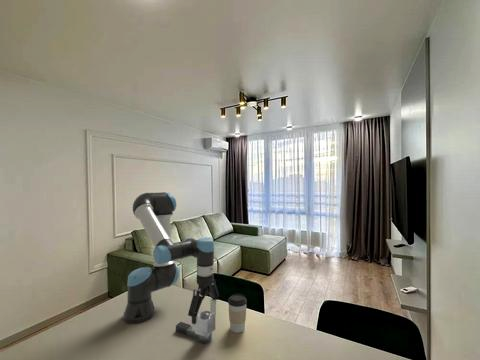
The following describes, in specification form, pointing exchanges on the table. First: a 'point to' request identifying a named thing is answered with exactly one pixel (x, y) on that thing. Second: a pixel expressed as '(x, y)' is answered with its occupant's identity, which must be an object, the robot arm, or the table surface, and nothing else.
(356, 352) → the table surface
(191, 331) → the grey l-shaped piece
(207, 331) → the socket
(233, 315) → the coffee cup
